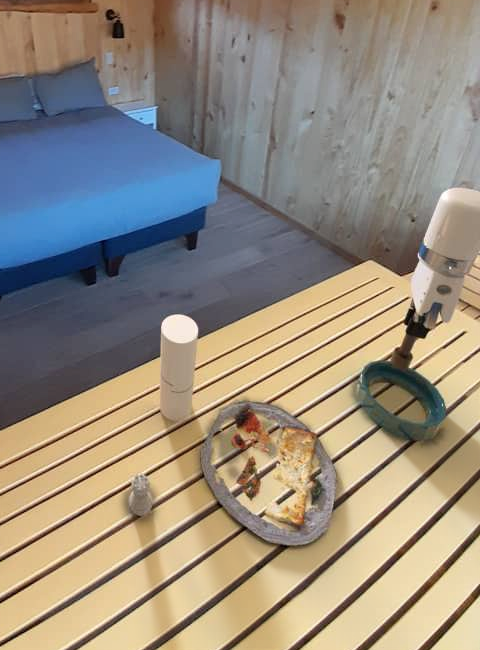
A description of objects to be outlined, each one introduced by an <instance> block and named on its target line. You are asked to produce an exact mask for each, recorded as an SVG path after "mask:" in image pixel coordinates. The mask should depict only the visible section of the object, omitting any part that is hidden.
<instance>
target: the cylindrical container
mask: <svg viewBox="0 0 480 650" xmlns="http://www.w3.org/2000/svg"><path fill="white" fill-rule="evenodd" d="M160 325H161V327H160V358H159V359H160V361H159V391H158V393H159V395H158V396H159V397H158V408H159V411H160V413H161V415H163V417H164V418H165V419H167V420H169V421H172V422H176V423H177V422H182V421H184V420H186V419H187V418H189V417H190V415H191V413H192V407H193V396H194V385H195V384H194V382H195V372H196V360H197V349H198V337H199V327H198V324H197V323H196V322H195V320H193V319H192V318H191V317H190V316H187V315H184V314H171V315H169V316H167V317H165V319H163V320H162V323H161V324H160Z"/></svg>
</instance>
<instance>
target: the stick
mask: <svg viewBox="0 0 480 650" xmlns="http://www.w3.org/2000/svg"><path fill="white" fill-rule="evenodd" d="M415 312H416V311H415ZM414 315H415V313H414ZM414 315H413V317H414ZM422 316H424V317H426V316H427V315H425V314H424V315H422ZM417 339H418V337H414V336H411V335H407V334H406V333H405V335H404V337H403V339H402V342H401V343H400V346H396V347H395V348H394V350H393V352H392V355H391V357H390V361H391V363H392V364H393V365H394V366H395V367H396V368H398V369H401V370H407V369H408V368H410V365H411V363H412V361H413V359H414V356H413V353H412V350H413V347H414V345H415V343H416V341H417Z"/></svg>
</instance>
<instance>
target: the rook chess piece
mask: <svg viewBox="0 0 480 650" xmlns="http://www.w3.org/2000/svg"><path fill="white" fill-rule="evenodd" d="M130 485H131V490H132V491H131V493H130V495H129V498H128V505H129V509H130V510H131V512H132V513H133V514H134V515H136V516H140V517H144V516H146V515H148V514H149V513H150V512H151V510H152V509H153V498H152V494H151V493H150V492H149V491H150V487H151V482H150V479H149V478H148V477H147V476H146V475H145V474H143V473H139V474H136V475H134V476H133V478H132V480H131V484H130Z"/></svg>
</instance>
